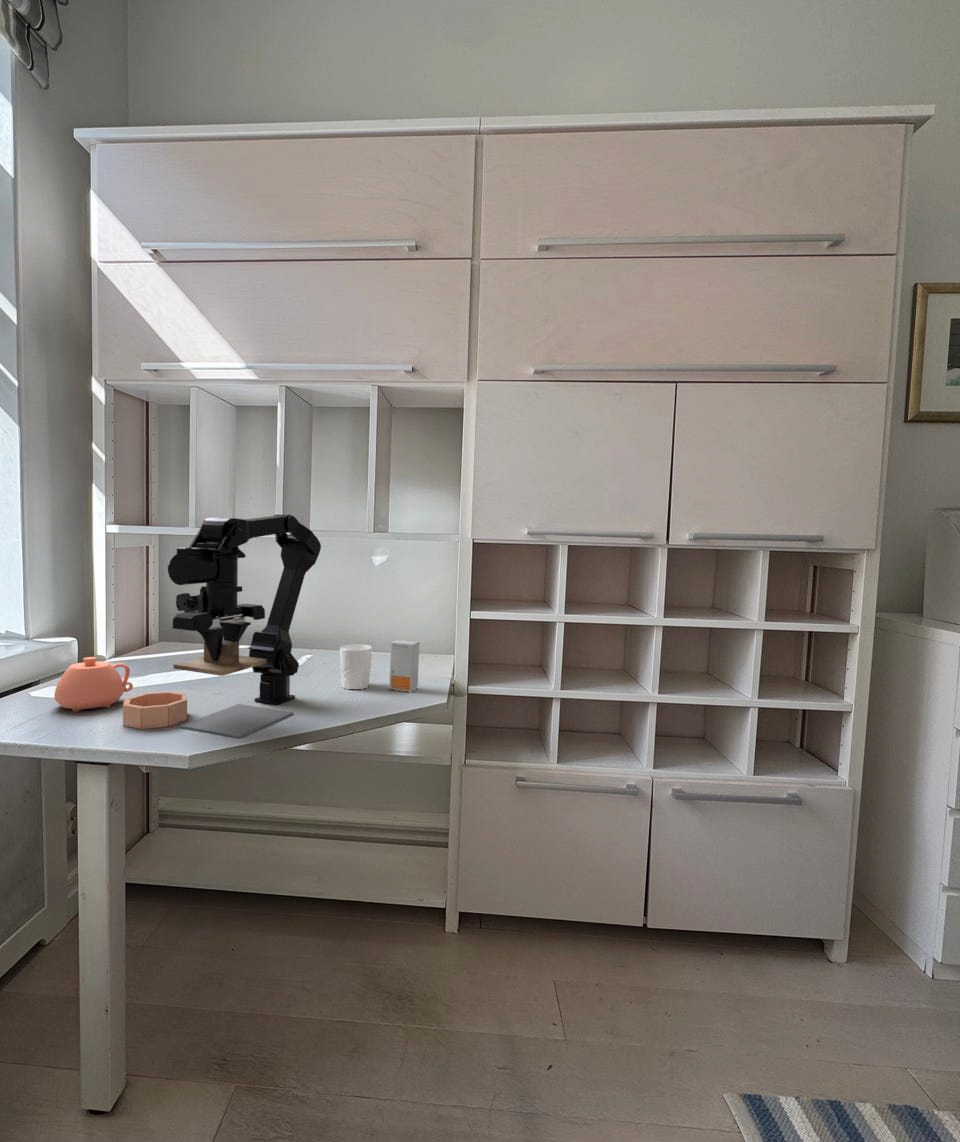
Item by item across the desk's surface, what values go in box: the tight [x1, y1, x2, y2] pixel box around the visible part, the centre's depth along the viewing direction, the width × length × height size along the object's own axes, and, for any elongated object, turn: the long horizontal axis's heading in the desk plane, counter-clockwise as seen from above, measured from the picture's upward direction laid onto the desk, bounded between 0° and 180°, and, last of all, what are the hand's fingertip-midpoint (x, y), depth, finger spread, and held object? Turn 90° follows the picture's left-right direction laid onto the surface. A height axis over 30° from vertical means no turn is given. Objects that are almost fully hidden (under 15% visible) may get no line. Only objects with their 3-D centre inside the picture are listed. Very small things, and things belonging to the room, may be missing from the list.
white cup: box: [339, 643, 373, 691], centre depth 147 cm, size 8×8×10 cm
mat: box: [179, 703, 294, 739], centre depth 118 cm, size 16×14×1 cm
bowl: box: [122, 690, 188, 730], centre depth 117 cm, size 11×11×4 cm
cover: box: [173, 639, 267, 677], centre depth 117 cm, size 12×12×5 cm
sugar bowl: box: [53, 656, 134, 712], centre depth 125 cm, size 12×14×10 cm
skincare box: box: [389, 639, 420, 692], centre depth 146 cm, size 6×4×12 cm
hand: (221, 659), depth 117 cm, fingers closed on cover, 3 cm apart
